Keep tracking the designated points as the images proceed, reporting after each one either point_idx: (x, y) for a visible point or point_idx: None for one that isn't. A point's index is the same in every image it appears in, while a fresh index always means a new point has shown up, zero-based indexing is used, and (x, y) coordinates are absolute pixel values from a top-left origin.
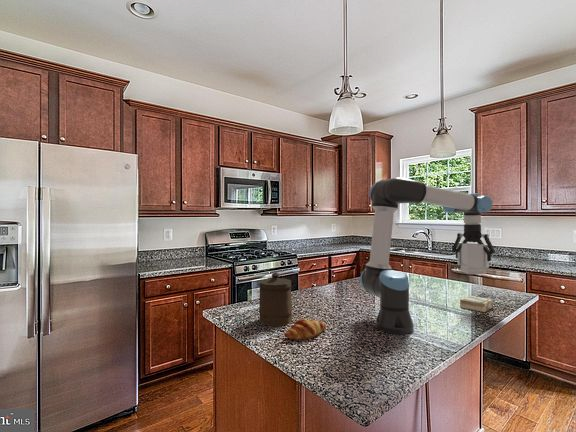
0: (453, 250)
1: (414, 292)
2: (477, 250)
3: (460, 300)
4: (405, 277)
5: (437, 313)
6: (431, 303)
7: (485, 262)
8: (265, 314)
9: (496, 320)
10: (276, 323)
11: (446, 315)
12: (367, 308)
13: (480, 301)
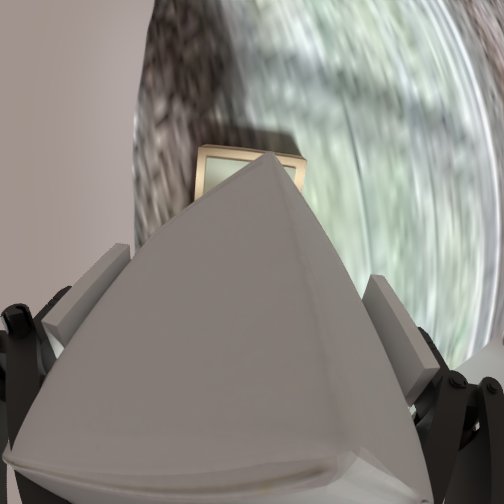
0: (483, 381)
1: (465, 268)
2: (85, 351)
3: (304, 159)
4: None
5: (346, 20)
6: (406, 145)
7: (103, 270)
8: None
9: (151, 71)
10: None
11: (312, 13)
12: (500, 7)
13: (218, 169)
